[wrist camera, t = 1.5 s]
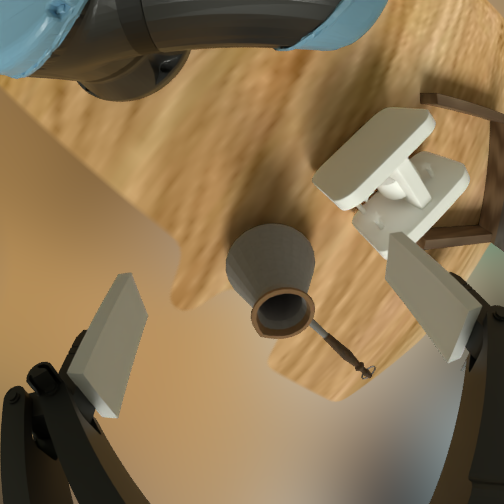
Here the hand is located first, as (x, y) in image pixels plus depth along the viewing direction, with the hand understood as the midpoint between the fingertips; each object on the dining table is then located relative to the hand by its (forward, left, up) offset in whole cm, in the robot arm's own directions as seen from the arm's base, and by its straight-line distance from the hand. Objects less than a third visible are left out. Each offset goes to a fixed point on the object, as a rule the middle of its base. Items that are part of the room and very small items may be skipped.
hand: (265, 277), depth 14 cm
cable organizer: (-1, +17, -23) cm, 29 cm away
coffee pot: (+14, +6, -23) cm, 28 cm away
